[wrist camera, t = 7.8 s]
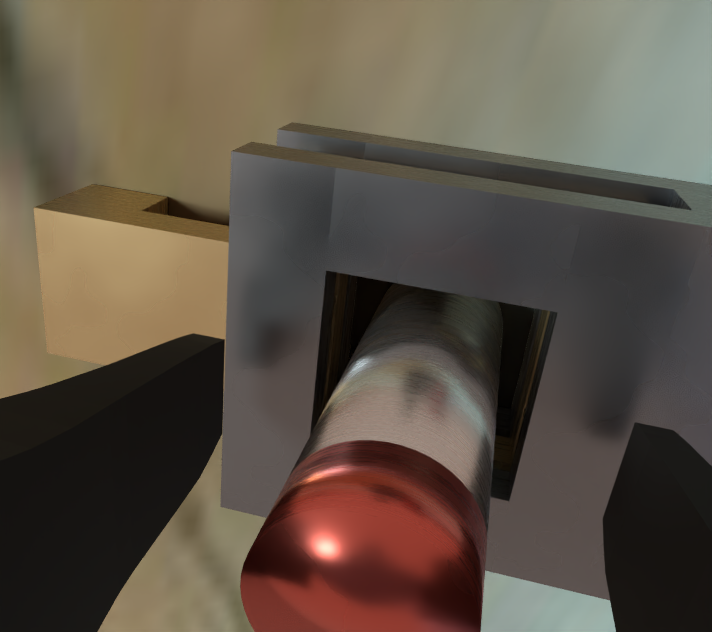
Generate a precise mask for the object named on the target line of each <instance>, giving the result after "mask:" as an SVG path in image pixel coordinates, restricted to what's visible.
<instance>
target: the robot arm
mask: <svg viewBox="0 0 712 632" xmlns="http://www.w3.org/2000/svg"><path fill="white" fill-rule="evenodd" d="M224 353H225V339H220V338H215V337H210V336H205V335H200V334H195V333H193V334H189V335H185V336H182V337H179V338H176V339H173V340H170V341H168V342H165V343H162V344H160V345H157V346H155V347H152V348H150V349H147V350H144V351H142V352H139V353H137V354H134V355H132V356H129V357H127V358H124V359H121V360H119V361H116V362H114V363H111V364H109V365H106V366H103V367H101V368H98V369H95V370H92V371H89V372H86V373H83V374H80V375H77V376H75V377H72V378H69V379H66V380H63V381H60V382H57V383H54V384H51V385H48V386H45V387H42V388H38V389H35V390H31V391H28V392H24V393H21V394H17V395H13V396H9V397H5V398H1V399H0V632H97V631H98V630H99V628H100V626H101V624H102V622H103V621H104V619H105V617H106V615H107V614H108V612H109V610H110V608H111V607H112V605H113V603H114V601H115V599H116V598H117V596H118V594H119V593H120V591H121V589H122V588H123V586H124V585H125V583H126V582H127V580H128V579H129V577H130V576H131V574H132V572H133V571H134V570H135V568H136V567H137V565H138V564H139V563H140V561H141V560H142V558H143V557H144V556H145V554H146V553H147V551H148V550H149V549H150V547H151V546H152V544H153V543H154V542H155V540H156V539H157V537H158V536H159V535H160V533H161V532H162V530H163V529H164V528H165V526H166V525H167V523H168V522H169V521H170V519H171V518H172V516H173V515H174V514H175V512H176V511H177V509H178V508H179V507H180V505H181V504H182V502H183V501H184V499H185V498H186V497H187V495H188V494H189V492H190V491H191V489H192V488H193V486H194V485H195V484H196V482H197V481H198V479H199V478H200V476H201V474H202V472H203V470H204V468H205V466H206V465H207V463H208V461H209V459H210V457H211V455H212V453H213V451H214V449H215V447H216V445H217V443H218V441H219V439H220V437H221V435H222V420H223V387H224ZM603 545H604V562H605V574H606V580H607V586H608V591H609V596H610V602H611V607H612V612H613V618H614V623H615V628H616V632H712V466H711V465H710V464H709V463H708V462H707V461H706V460H705V459H704V458H703V457H702V456H701V455H700V454H699V453H698V452H697V451H696V450H695V449H694V448H693V447H692V446H691V445H690V444H689V443H688V442H686V441H685V440H684V439H683V438H682V437H681V436H680V435H679V434H677V433H676V432H675V431H674V430H671V429H666V428H661V427H656V426H651V425H646V424H641V423H636V422H635V423H634V426H633V429H632V432H631V435H630V438H629V441H628V444H627V447H626V450H625V453H624V456H623V459H622V462H621V465H620V468H619V471H618V474H617V477H616V480H615V483H614V486H613V489H612V492H611V495H610V498H609V501H608V504H607V507H606V510H605V513H604V516H603Z"/></svg>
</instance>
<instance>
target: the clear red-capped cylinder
mask: <svg viewBox="0 0 712 632" xmlns="http://www.w3.org/2000/svg"><path fill="white" fill-rule="evenodd" d="M502 336H503V316H502V312H501V308H500V306H499V303H498V302H497V301H492V300H486V299H481V298H475V297H470V296H464V295H459V294H453V293H448V292H442V291H437V290H431V289H426V288H420V287H415V286H409V285H404V284H398V283H393V284H392V285H391V286H390V287H389V289H388V290H387V292H386V293H385V295H384V297H383V299H382V301H381V302H380V304H379V306H378V308H377V310H376V312H375V314H374V316H373V318H372V320H371V321H370V323H369V325H368V327H367V329H366V331H365V333H364V335H363V337H362V339H361V340H360V342H359V344H358V346H357V348H356V350H355V352H354V354H353V356H352V357H351V359H350V361H349V363H348V365H347V367H346V369H345V371H344V373H343V375H342V376H341V378H340V380H339V382H338V384H337V386H336V388H335V390H334V392H333V394H332V395H331V397H330V399H329V401H328V403H327V405H326V407H325V409H324V411H323V412H322V414H321V416H320V418H319V420H318V422H317V424H316V426H315V428H314V430H313V431H312V433H311V435H310V437H309V439H308V441H307V443H306V445H305V447H304V449H303V450H302V452H301V454H300V456H299V458H298V460H297V462H296V464H295V466H294V467H293V469H292V471H291V473H290V475H289V477H288V479H287V481H286V483H285V485H284V486H283V488H282V490H281V492H280V494H279V496H278V498H277V500H276V502H275V504H274V505H273V507H272V509H271V511H270V513H269V515H268V517H267V519H266V521H265V522H264V524H263V526H262V528H261V530H260V532H259V534H258V536H257V538H256V540H255V541H254V543H253V545H252V547H251V549H250V551H249V553H248V555H247V557H246V560H245V562H244V565H243V569H242V573H241V584H240V588H241V598H242V602H243V606H244V610H245V612H246V615H247V617H248V620H249V622H250V624H251V626H252V627H253V629H254V631H255V632H480V630H481V617H482V603H483V590H484V576H485V563H486V550H487V536H488V523H489V510H490V496H491V483H492V470H493V456H494V443H495V430H496V416H497V403H498V390H499V376H500V363H501V350H502Z"/></svg>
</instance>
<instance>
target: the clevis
mask: <svg viewBox="0 0 712 632" xmlns="http://www.w3.org/2000/svg"><path fill="white" fill-rule="evenodd" d="M34 216H35V227H36V237H37V248H38V258H39V269H40V280H41V290H42V301H43V311H44V322H45V332H46V343H47V353H51V354H56V355H60V356H65V357H70V358H74V359H79V360H84V361H88V362H93V363H98V364H102V365H109V364H111V363H114V362H116V361H119V360H121V359H124V358H127V357H129V356H132V355H134V354H137V353H139V352H142V351H144V350H147V349H150V348H152V347H155V346H157V345H160V344H162V343H165V342H168V341H170V340H173V339H176V338H179V337H182V336H185V335H189V334H193V333H195V334H200V335H205V336H210V337H215V338H220V339H225V353H224V387H223V390H224V412H223V445H222V477H221V507H224V508H228V509H232V510H237V511H241V512H245V513H249V514H253V515H257V516H262V517H266V518H267V517H268V515H269V513H270V511H271V509H272V507H273V505H274V504H275V502H276V500H277V498H278V496H279V494H280V492H281V490H282V488H283V486H284V485H285V483H286V481H287V479H288V477H289V475H290V473H291V471H292V469H293V467H294V466H295V464H296V462H297V460H298V458H299V456H300V454H301V452H302V450H303V449H304V447H305V445H306V443H307V441H308V439H309V437H310V435H311V433H312V431H313V430H314V428H315V426H316V424H317V422H318V420H319V418H320V416H321V414H322V412H323V411H324V409H325V407H326V405H327V403H328V401H329V399H330V397H331V395H332V394H333V392H334V390H335V388H336V386H337V384H338V382H339V380H340V378H341V376H342V375H343V373H344V371H345V369H346V367H347V365H348V358H349V350H350V341H351V333H352V324H353V316H354V307H355V299H356V290H357V282H358V276H360V277H365V278H371V279H376V280H382V281H387V282H393V283H398V284H404V285H409V286H415V287H420V288H426V289H431V290H437V291H442V292H448V293H453V294H459V295H464V296H470V297H475V298H481V299H486V300H492V301H497V302H503V303H508V304H514V305H519V306H525V307H530V308H535V311H534V315H533V319H532V323H531V327H530V331H529V335H528V340H527V344H526V348H525V352H524V356H523V360H522V364H521V369H520V373H519V377H518V381H517V385H516V389H515V393H514V398H513V402H512V406H511V409H509V408H504V407H499V406H497V416H496V430H495V443H494V456H493V470H492V483H491V496H490V510H489V523H488V536H487V550H486V563H485V570H486V571H490V572H494V573H499V574H503V575H507V576H511V577H515V578H519V579H524V580H528V581H532V582H536V583H540V584H544V585H549V586H553V587H557V588H561V589H565V590H569V591H573V592H578V593H582V594H586V595H590V596H594V597H598V598H603V599H607V600H610V596H609V591H608V586H607V580H606V574H605V562H604V545H603V516H604V513H605V510H606V507H607V504H608V501H609V498H610V495H611V492H612V489H613V486H614V483H615V480H616V477H617V474H618V471H619V468H620V465H621V462H622V459H623V456H624V453H625V450H626V447H627V444H628V441H629V438H630V435H631V432H632V429H633V426H634V423H635V422H636V423H641V424H646V425H651V426H656V427H661V428H666V429H671V430H674V431H675V432H676V433H677V434H679V435H680V436H681V437H682V438H683V439H684V440H685V441H686V442H688V443H689V444H690V445H691V446H692V447H693V448H694V449H695V450H696V451H697V452H698V453H699V454H700V455H701V456H702V457H703V458H704V459H705V460H706V461H707V462H708V463H709V464H710V465H711V466H712V185H705V184H698V183H692V182H685V181H678V180H672V179H665V178H658V177H652V176H645V175H638V174H632V173H625V172H618V171H611V170H605V169H598V168H591V167H585V166H578V165H571V164H565V163H558V162H551V161H545V160H538V159H531V158H525V157H518V156H511V155H505V154H498V153H491V152H485V151H478V150H471V149H465V148H458V147H451V146H445V145H438V144H431V143H425V142H418V141H411V140H405V139H398V138H391V137H385V136H378V135H371V134H365V133H358V132H351V131H345V130H338V129H331V128H324V127H318V126H311V125H304V124H298V123H290V124H288V125H286V126H284V127H282V128H279V129H278V134H277V146H275V145H268V144H262V143H255V142H250V143H248V144H246V145H244V146H242V147H239V148H237V149H235V150H233V151H231V183H230V216H229V226H225V225H220V224H214V223H208V222H202V221H197V220H191V219H185V218H180V217H174V216H168V197H164V196H158V195H153V194H147V193H141V192H135V191H129V190H123V189H118V188H112V187H106V186H100V185H94V184H92V185H89V186H87V187H84V188H82V189H79V190H77V191H74V192H72V193H69V194H67V195H64V196H62V197H59V198H57V199H54V200H51V201H49V202H46V203H44V204H41V205H39V206H36V207H34Z"/></svg>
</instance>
